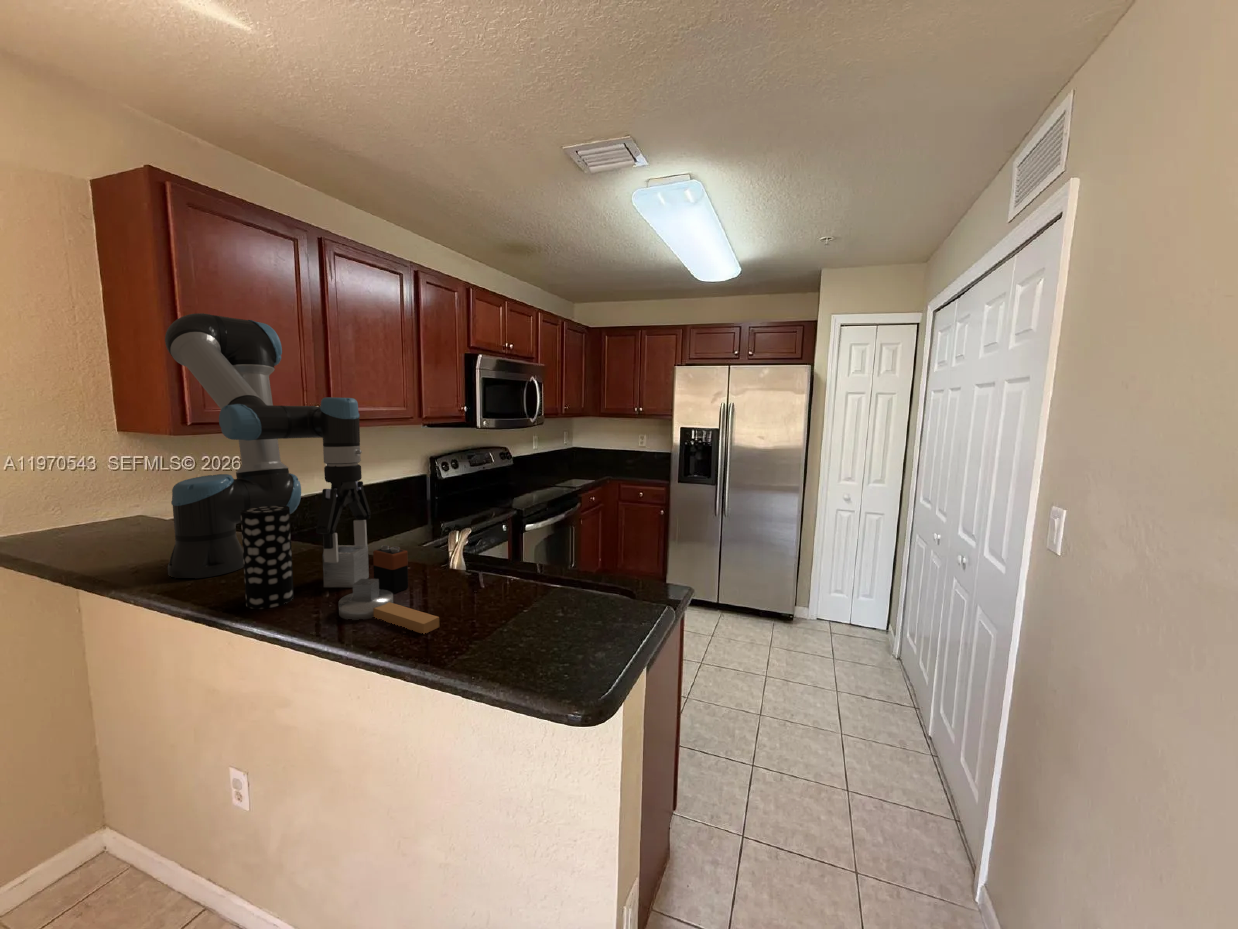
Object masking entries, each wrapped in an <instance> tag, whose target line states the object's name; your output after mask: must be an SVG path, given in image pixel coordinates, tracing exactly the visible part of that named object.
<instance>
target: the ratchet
mask: <svg viewBox="0 0 1238 929" xmlns="http://www.w3.org/2000/svg"><path fill="white" fill-rule="evenodd" d="M338 615H339V617H340V618H342V619H344V620H348V619H352V620H351V621H360V620H359V619H363V620H368V619H373V618H372V617H375V618H374V619H376V618H377V620H379V619H382V620H384V621H383V622H385V621H386V623H389V624H391V623H392V625H394V624H395V626H397V625H398V627H400V626H402V627H401V628H403V627H405V628H404V629H406V628H407V629H406V630H410V631H412V630H413V632H416V633H419V634H422V633H423V635H426V634H428V633H429V632H430V633H431V632H432V631H434V630H436V629H438V628H440V617H439V616H437V615H433V614H430V613H427V612H423V611H419V610H416V609H414V608H410V607H406V606H404V605H400V604H397V603H394V594H393V593H392V592H390V591H388V590H381V589H379V579H374V578H367V579H360V580H359V581H357V582H356V583H354V584H353V587H352V593H349V594H346V595H344V596H343V597H340V599H339V601H338ZM382 620H381V621H382ZM425 633H426V634H425Z"/></svg>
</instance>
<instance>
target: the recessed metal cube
mask: <svg viewBox="0 0 1238 929" xmlns="http://www.w3.org/2000/svg"><path fill="white" fill-rule="evenodd" d="M338 560H339V561H338V562H324V552H323V553H322V570H323V572H322V573H323V574H322V575H323V576H322V577H323V588H353V584H354V583H356V582H357V581H359V580H360V579H369V577H370V576H369V575H370V573H369V570H370V569H369V545H367V546H365V545H355V544H353V545H350V544H347V545H345V544H344V545H343V544H341V545H340V544H338Z"/></svg>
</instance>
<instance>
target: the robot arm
mask: <svg viewBox="0 0 1238 929" xmlns="http://www.w3.org/2000/svg"><path fill="white" fill-rule="evenodd" d="M164 342H165V346H166V347H165V348H166V350H167V351H168V353H169V355H170V356H171V357H172V358H173V359H174V361H175V362H177V363H178V364H180V365H181V366H184V367H186V368H187V369H188V371H190V373H191V374H192V375H193V377H194V378H195V379H196V380H197V381H198V383H199V384H200V385H201V386H202V388H203V389H204V391H205V392H206V393H207V395H208V396H210V398H211V399H212V400H213V401H214V402H215V404H216V405H217V406H218V408H219V409H220V411H219V414H218V424H219V427H220V429H221V431H220V432H221V433H222V435H223V436H224V437H225V438H227V439H229V440H233V441H235V440H236V441H238V444H239V453H240V461H241V466H240V467H239V468H238V469H237V471H235V476H236V478H234V477H233V476H232V475H231V474H229V473H228V474H227V473H224V474H222V473H219V474H212V475H211V474H209V475H208V474H207V475H202V476H196V477H192V478H188V479H187V478H186V479H184V480H181V481H179V482H177V483H175V484H174V486H173V487H172V490H171V493H172V494H171V495H172V498H171V506H172V512H173V513H172V514H173V527H174V540H175V542H174V546H173V550H172V553H171V556H170V559H169V561H168V565H167V575H170V576H172V577H175V578H174V579H176V578H195V579H204V578H210V577H216V576H220V575H225V574H229V573H232V572H236V571H237V570H241V569H244V562H243V546H242V545H241V542H240V541H239V539H238V536H237V528H236V526H237V524H241V512H240V511H241V510H243V509H247V508H252V507H259V506H271V505H281V506H288V507H289V509H290V515H291V514H293V513H294V512H295V511H296V510H297V509H298V506H299V505H300V502H301V498H302V486H301V485H302V484H301V482H300V480H299V478H298V476H297V475H295V474H293V473H290V471H289V467H288V466H287V465H286V464H284V463H283V462H282V461H281V454H280V446H279V439H280V440H281V439H312V438H313V439H314V438H316V439H317V438H319V439H320V438H321V439H322V449H323V452H322V453H323V454H322V455H323V464H325V466H324V467H323V472H324V473H323V474H324V481H325V482H327V483H330V485H331V487H330V488H323V489H322V491H321V493H322V494H321V495H322V496H321V504H320V508H319V513H318V517H317V522H316V526H315V534H317V535H322V539H323V542H322V543H323V544H322V545H323V553H324V562H338V561H339V560H338V545H339V544H338V541H339V540H338V533H337V532H335V531H336V529H337V526H338V523H339V521H340V517H341V515H342V512H343V509H344V508H346V507H347V506H348V508H349V509H350V511H351V513H352V515H353V516H354V518H355V519H354V520H353V537H354V538H353V539H354V545H365V546H368V535H367V531H368V530H367V520H370V519H371V509H370V505H369V503H368V499H367V496H366V493H365V490H364V482H363V481H362V478H363V476H362V466H361V464H359V463H361V461H362V459H361V458H362V457H361V455H362V454H363V452H362V450H361V443H360V442H361V437H360V436H361V435H360V432H361V431H360V429H361V428H360V415H361V414H360V413H359V403H358V401H357V399H356V398H353V397H329V396H328V397H327V396H326V397H323V398H322V399H321V400H320V406H317V405H316V406H315V405H274V404H273V396H272V389H271V388H272V387H271V382H270V376H271V374H273V373H274V371H275V366H277V365H279V364H280V362H281V360H282V354H283V348H282V347H283V346H282V342H281V339H280V337H279V335H278V333H277V332H276V330H275V329H274V328H272V326H271V325H269V324H267V323H264V322H258V321H255V320H252V319H243V318H242V319H241V318H234V317H229V316H221V315H214V314H211V313H204V312H201V313H200V312H199V313H191V314H190V313H189V314H186V315H183V316H181V317H179V318H177V319H175V320H174V321H173V322H172V323H171V324H170V325H169V326H168V328H167V330H166V333H165V336H164Z"/></svg>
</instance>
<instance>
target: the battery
mask: <svg viewBox="0 0 1238 929" xmlns="http://www.w3.org/2000/svg"><path fill="white" fill-rule="evenodd" d="M372 556H373V557H372V558H373V559H372V560H373V579H379V589H381V590H388V591H390V592H392V593H393V595H394V594H397V593H399V592H401V591H405V590H408V589H409V570H408V569H409V567H408V565H409V564H408V560H409V558H408V550H405V549H401V548H400V547H399V546H392V547H391V546H389V545H388V544H387V545H386V544H385V545H381V548H378V549H375V550H373V553H372Z"/></svg>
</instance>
